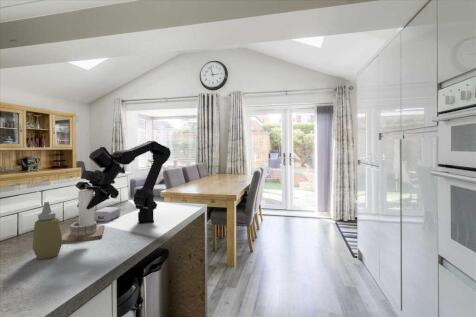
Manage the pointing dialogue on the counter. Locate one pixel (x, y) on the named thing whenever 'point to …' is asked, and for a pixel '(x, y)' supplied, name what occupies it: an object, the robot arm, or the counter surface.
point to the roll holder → (82, 233)
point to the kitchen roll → (85, 208)
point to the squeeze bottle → (47, 234)
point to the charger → (106, 213)
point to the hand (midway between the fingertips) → (82, 208)
